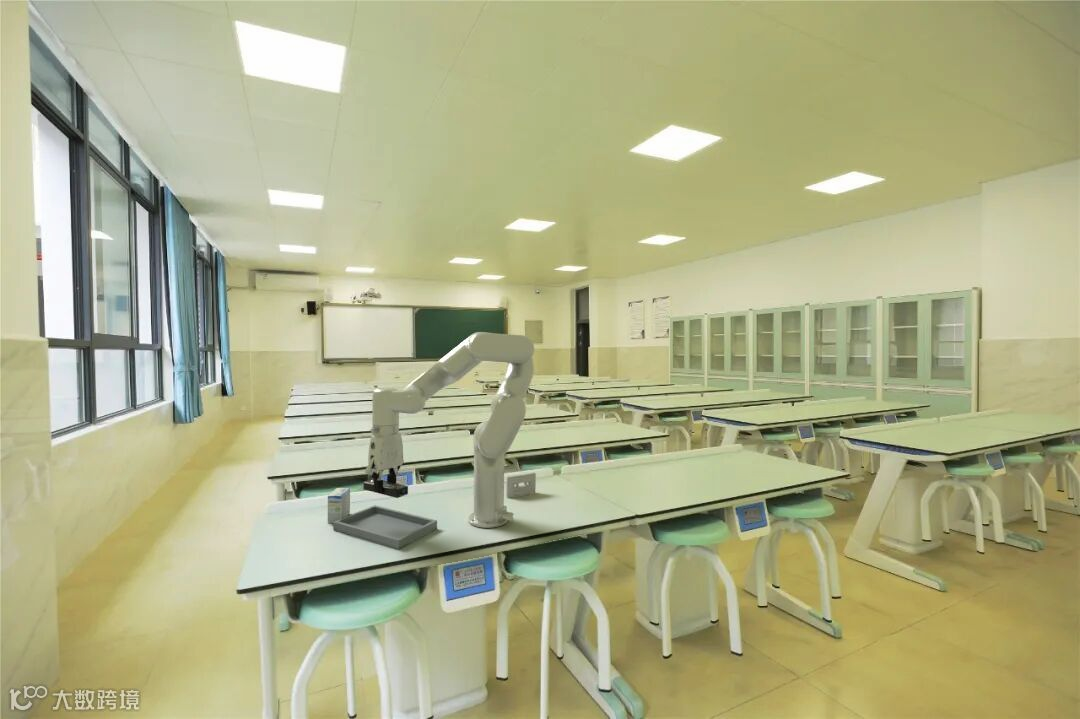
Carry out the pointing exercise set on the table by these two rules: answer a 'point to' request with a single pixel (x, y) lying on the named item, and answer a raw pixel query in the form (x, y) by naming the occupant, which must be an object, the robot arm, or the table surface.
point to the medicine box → (338, 504)
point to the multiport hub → (387, 488)
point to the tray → (385, 526)
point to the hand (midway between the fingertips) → (385, 489)
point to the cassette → (515, 489)
